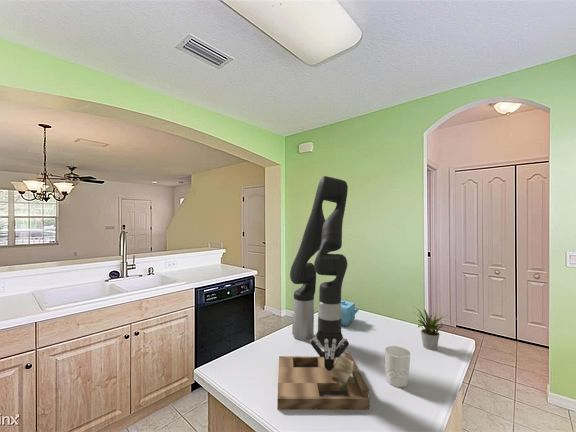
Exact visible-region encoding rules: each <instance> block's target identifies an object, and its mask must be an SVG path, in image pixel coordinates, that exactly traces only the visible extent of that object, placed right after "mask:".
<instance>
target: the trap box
mask: <svg viewBox="0 0 576 432" xmlns="http://www.w3.org/2000/svg"><path fill="white" fill-rule="evenodd" d="M344 357H346V358H348V359H349V360H351V361H353V371H352V372H351V374H350V376H349V378H348V380H347V382H346V384H345V383H344V382H342V381H340V380H339V379H337V378H336V377H334V376H332V375H331V372H332V371H327V369H325V366H324V357H320V356H308V355H307V356H305V355H304V356H297V355H296V356H294V355H293V356H287V355H286V356H278V374H277V375H278V378H277V379H278V380H277V382H278V383H277V408H276V409H277V410H370V397H369V388H368V386H367V384H366V382H365V379H364V377H363V375H362V374H361V371H360V370H359V367H358V365H357V363H356V361H355V359H354V358H353V355H352V353H351V352H344ZM336 359H337V357H336V358H334V363H335V361H336Z"/></svg>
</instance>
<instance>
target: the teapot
mask: <svg viewBox="0 0 576 432" xmlns="http://www.w3.org/2000/svg"><path fill="white" fill-rule="evenodd" d="M341 308H342V319H341V325H343V327H344V328H345V327H348V326H349V325H350V324H352V323H353V321H355V319H356V314H357V313H358V312H359V310H360V309H359V308H356V303H355V302H352V301H346V300H342V299H341Z"/></svg>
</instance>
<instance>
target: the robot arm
mask: <svg viewBox="0 0 576 432" xmlns="http://www.w3.org/2000/svg"><path fill="white" fill-rule="evenodd" d="M348 190H349V187H348V183H347V181H345V180H343V179H341V178H340V179H339V178H335V177H331V176H327V175H324V176H322V177H321V178H320V180H319V182H318V185H317V189H316V192H315V197H314V200H313V203H312V204H313V205H312V208H311V211H310V215H309V217H308V221H307V223H306V226H305V229H304V232H303V234H302V235H303V236H302V239H301V241H300V245H299V248H298V251H297V254H296V256H295V258H294V259H293V262H292V264H291V267H290V272H289V273H290V274H289V277H290V281H291V283H292V284H294V285H301V286H300V288H298V289H296V290H295V291H294V292H293V313H292V327H291V328H292V331H291V332H292V335H293V336H292V337H293V338H294V339H296V340H299V341H310V345H311V347H312V348H313V349H314V351H315V352H316V354H317V355H318V357H324V366H325V369H327V371H332V369H333V367H334V358H336V357H340V355H342V354H343V353H345V352H344V351H345V350H346V349H347V348H348V347H349V345H350V343H349V341H348V339H347V338H345V337H344V336H343V333H342V324H341V319H342V308H341V300H342V287H343V282H344V278H345V275H346V272H347V269H348V260H347V257H346V256H345V255H344V254H341V253H333V252H337V251H339V250H341V248H342V245H343V223H344V216H345V211H346V204H347V198H348ZM324 201H326V202H330V203H335V204H336V205H335V208H334V210H333V211H332V213H330V214H329V216H328V217H327V218H325V215H324V210H323V202H324ZM331 252H332V253H331ZM315 255H316V257H315V259H314V261H313V262H314V263H312V262H309V260H311V258H312V257H313V256H315ZM317 275H319V276H328V277H329V276H332V277H335V278H334V279H333V280H331V281H325V282H322V283H320V284H319V289H318V291H319V292H318V294H319V296H318V297H319V298H318V299H319V300H318V307H317V309H318V310H317V332H316V334H314V333H315V331H314V330H315V329H314V327H315V294H316V284H317ZM319 344H320V345H321V346H322V347H323V350H322V349H321V347H320V346H319Z"/></svg>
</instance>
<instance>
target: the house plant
mask: <svg viewBox="0 0 576 432" xmlns="http://www.w3.org/2000/svg"><path fill="white" fill-rule="evenodd" d="M413 308H416V307H415V306H413ZM416 309H417V311H418V314H417V313H416V312H414V311H413V314H414V313H415V314H414V315H416V316H417V317H418V318H419V319H418V320H417V322H418V325H417V328H422V329H421V330H420V334H421V341H422V346H423V348H424V349H426V350H431V351H436V350H438V344H439V338H440V332H439V331H440V330H439V329H441V328H445V324H443V325H442V324H441V323H439V322H440V320H442V319H443V318H444V317H446V316H447V314H444V315H442V316H441V317H439V318H437V316H438V312H436V313H435V312H434V313H432V312H433V310H434V308H432V309H431V312H430V315H429V314H428V312H427V311H426V309H425V308H422V310H423V312H424V315H425V317H424V315H423V313H422V311H420V309H418V308H416ZM433 314H434V318H433V319H432V317H433ZM413 323H416V322H413ZM419 323H420V324H419Z"/></svg>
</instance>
